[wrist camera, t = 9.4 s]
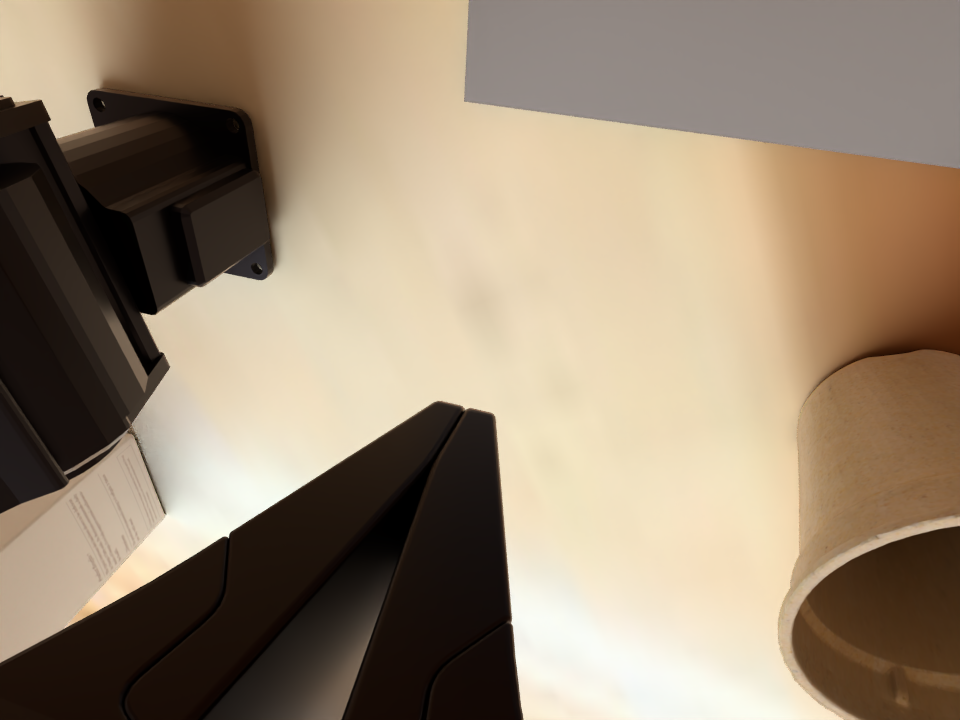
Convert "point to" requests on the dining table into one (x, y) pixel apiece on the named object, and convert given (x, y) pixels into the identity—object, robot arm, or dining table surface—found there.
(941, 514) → the flower pot
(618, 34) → the rubber mat
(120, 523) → the supplement box
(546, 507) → the dining table surface
